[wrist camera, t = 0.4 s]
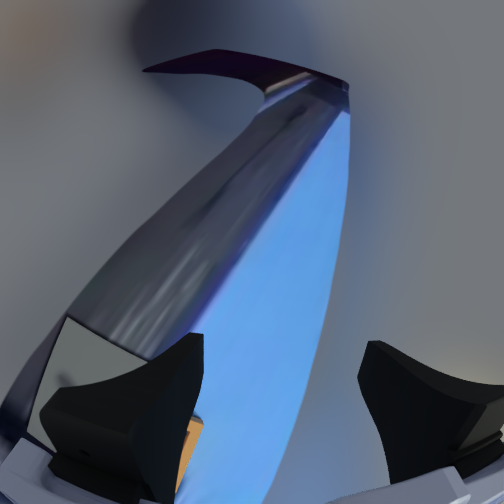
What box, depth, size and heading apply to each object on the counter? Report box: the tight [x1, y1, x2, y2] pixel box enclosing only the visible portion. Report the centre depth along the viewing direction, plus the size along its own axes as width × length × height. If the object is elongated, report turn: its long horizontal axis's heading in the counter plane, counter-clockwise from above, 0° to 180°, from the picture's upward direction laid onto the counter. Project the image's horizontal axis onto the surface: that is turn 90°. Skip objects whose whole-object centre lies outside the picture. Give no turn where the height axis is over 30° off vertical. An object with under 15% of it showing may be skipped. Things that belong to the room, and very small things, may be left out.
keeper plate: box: [27, 317, 148, 452], centre depth 25 cm, size 20×14×6 cm
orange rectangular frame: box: [175, 416, 204, 493], centre depth 27 cm, size 11×7×4 cm, turn 160°
